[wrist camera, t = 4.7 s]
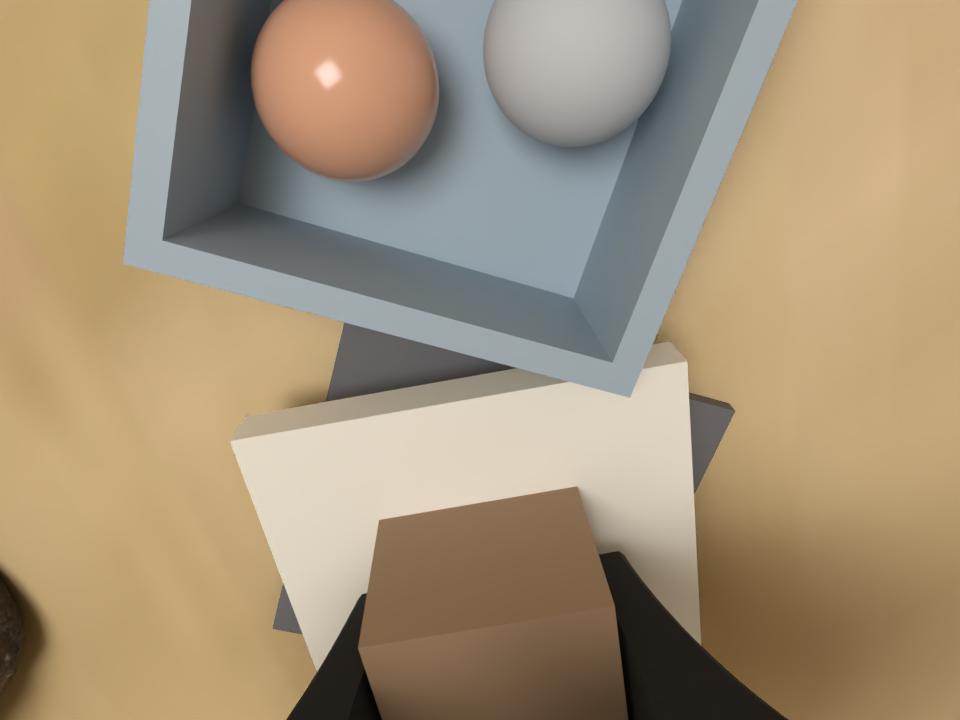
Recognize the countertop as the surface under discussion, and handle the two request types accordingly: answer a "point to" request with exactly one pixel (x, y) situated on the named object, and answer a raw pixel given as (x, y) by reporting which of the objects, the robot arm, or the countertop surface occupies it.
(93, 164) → the countertop surface
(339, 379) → the mat
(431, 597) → the lid
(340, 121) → the ball terracotta
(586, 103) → the ball grey
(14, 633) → the stone
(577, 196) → the box
